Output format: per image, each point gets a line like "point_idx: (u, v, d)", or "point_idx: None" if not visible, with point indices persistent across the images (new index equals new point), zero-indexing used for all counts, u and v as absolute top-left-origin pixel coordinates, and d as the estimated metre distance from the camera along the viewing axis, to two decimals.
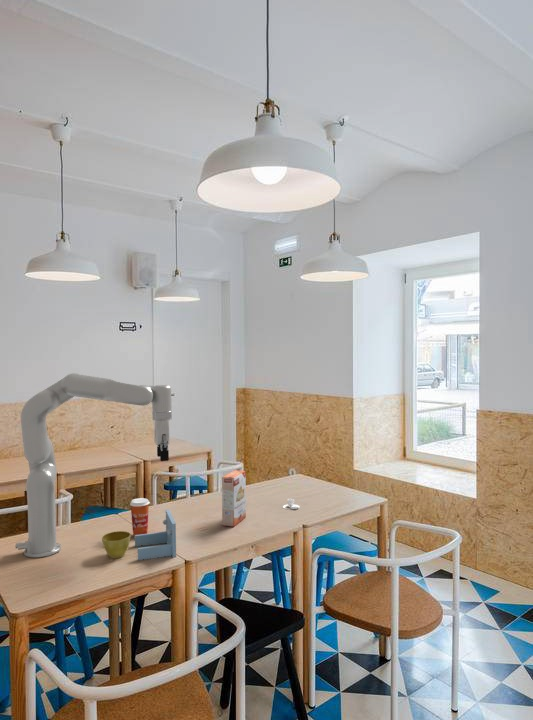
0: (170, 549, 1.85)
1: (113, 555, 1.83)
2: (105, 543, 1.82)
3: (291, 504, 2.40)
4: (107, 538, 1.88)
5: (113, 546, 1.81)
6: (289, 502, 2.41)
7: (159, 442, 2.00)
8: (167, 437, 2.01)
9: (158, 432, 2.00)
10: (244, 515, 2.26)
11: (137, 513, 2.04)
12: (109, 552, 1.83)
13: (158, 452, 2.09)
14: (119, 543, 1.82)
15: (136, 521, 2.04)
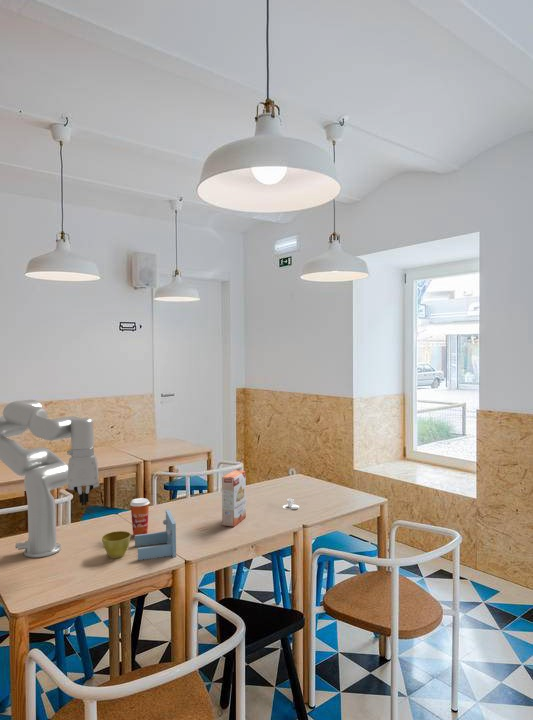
0: (170, 549, 1.85)
1: (113, 555, 1.83)
2: (105, 543, 1.82)
3: (291, 504, 2.40)
4: (107, 538, 1.88)
5: (113, 546, 1.81)
6: (289, 502, 2.40)
7: None
8: None
9: (97, 469, 1.82)
10: (244, 515, 2.26)
11: (137, 513, 2.04)
12: (109, 552, 1.83)
13: None
14: (119, 543, 1.82)
15: (136, 521, 2.04)
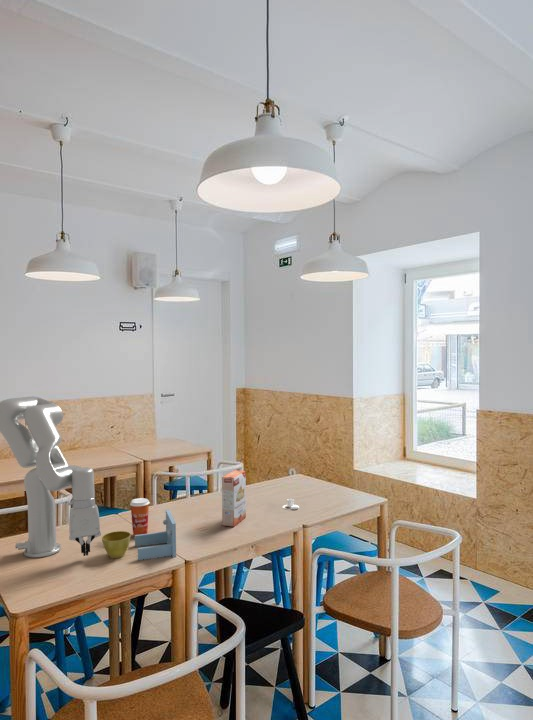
0: (170, 549, 1.85)
1: (113, 555, 1.83)
2: (105, 543, 1.82)
3: (291, 504, 2.40)
4: (107, 538, 1.88)
5: (113, 546, 1.81)
6: (289, 502, 2.40)
7: (99, 529, 1.82)
8: None
9: (98, 519, 1.82)
10: (244, 515, 2.26)
11: (137, 513, 2.04)
12: (109, 552, 1.83)
13: (85, 550, 1.81)
14: (119, 543, 1.82)
15: (136, 521, 2.04)
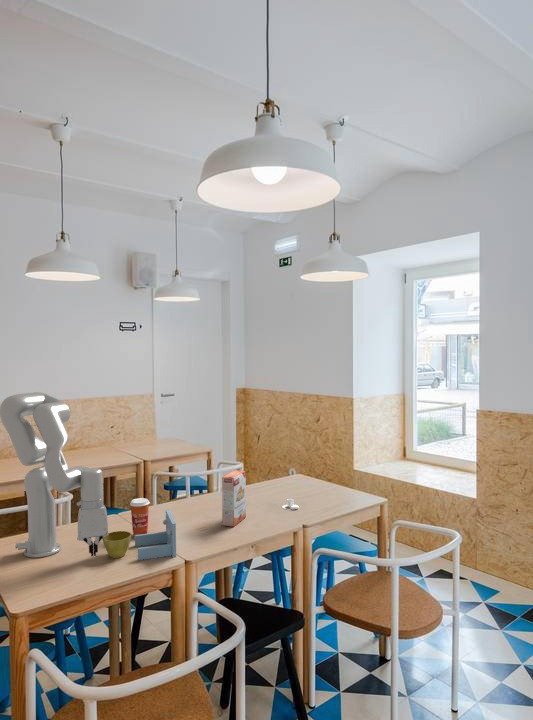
0: (170, 549, 1.85)
1: (114, 555, 1.83)
2: (106, 543, 1.82)
3: (291, 504, 2.40)
4: (108, 538, 1.88)
5: (113, 546, 1.81)
6: (289, 502, 2.40)
7: (107, 530, 1.83)
8: None
9: (106, 520, 1.83)
10: (244, 515, 2.26)
11: (137, 513, 2.04)
12: (110, 552, 1.83)
13: (92, 551, 1.82)
14: (119, 542, 1.82)
15: (136, 521, 2.04)
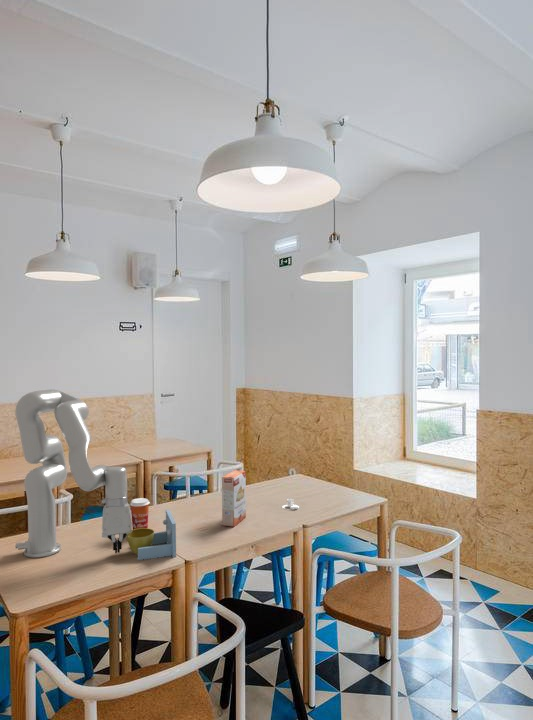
0: (170, 549, 1.85)
1: (137, 552, 1.86)
2: (129, 540, 1.85)
3: (290, 504, 2.40)
4: (131, 535, 1.91)
5: (137, 543, 1.84)
6: (288, 502, 2.40)
7: (131, 528, 1.86)
8: None
9: (130, 517, 1.85)
10: (244, 515, 2.26)
11: (137, 513, 2.04)
12: (133, 549, 1.85)
13: (116, 548, 1.85)
14: (143, 539, 1.84)
15: (136, 521, 2.04)
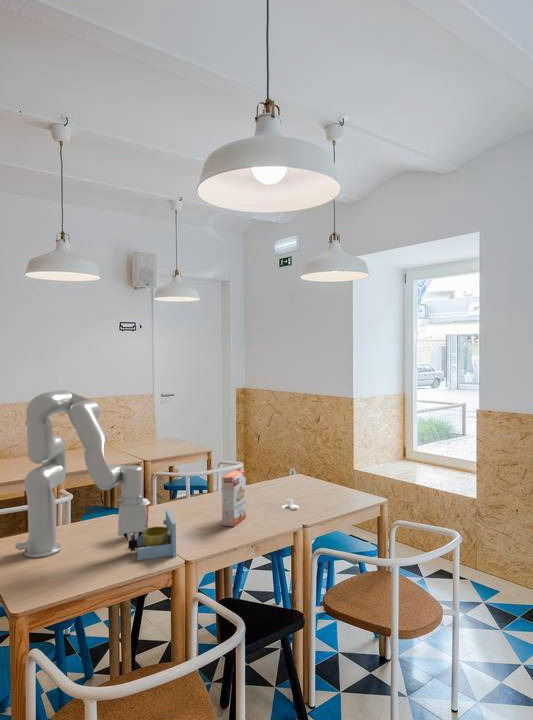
0: (170, 549, 1.85)
1: None
2: (145, 538, 1.87)
3: (290, 504, 2.40)
4: (147, 533, 1.93)
5: (152, 541, 1.86)
6: (288, 502, 2.40)
7: None
8: None
9: (146, 516, 1.87)
10: (244, 515, 2.26)
11: None
12: None
13: None
14: (158, 538, 1.86)
15: None
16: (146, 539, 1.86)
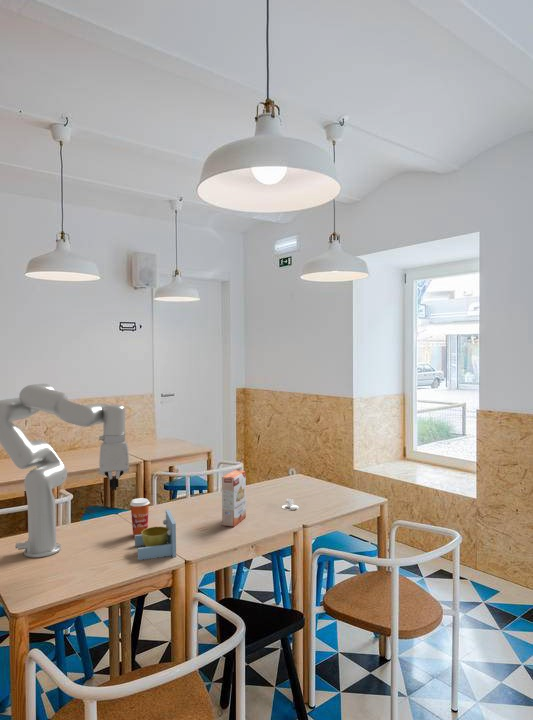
0: (170, 549, 1.85)
1: None
2: (145, 538, 1.87)
3: (290, 504, 2.40)
4: (146, 533, 1.93)
5: (152, 541, 1.86)
6: (288, 502, 2.40)
7: (128, 465, 1.86)
8: None
9: (128, 455, 1.85)
10: (244, 515, 2.26)
11: (137, 513, 2.04)
12: None
13: None
14: (158, 538, 1.86)
15: (136, 521, 2.04)
16: (146, 539, 1.86)
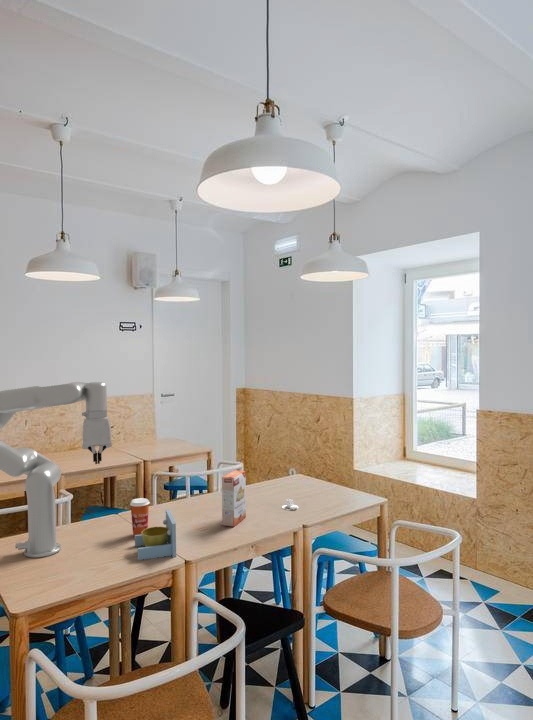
0: (170, 549, 1.85)
1: None
2: (145, 538, 1.87)
3: (290, 504, 2.40)
4: (146, 533, 1.93)
5: (152, 541, 1.86)
6: (288, 502, 2.40)
7: None
8: None
9: (110, 430, 1.93)
10: (244, 515, 2.26)
11: (137, 513, 2.04)
12: None
13: (96, 459, 1.92)
14: (158, 538, 1.86)
15: (136, 521, 2.04)
16: (146, 539, 1.86)
